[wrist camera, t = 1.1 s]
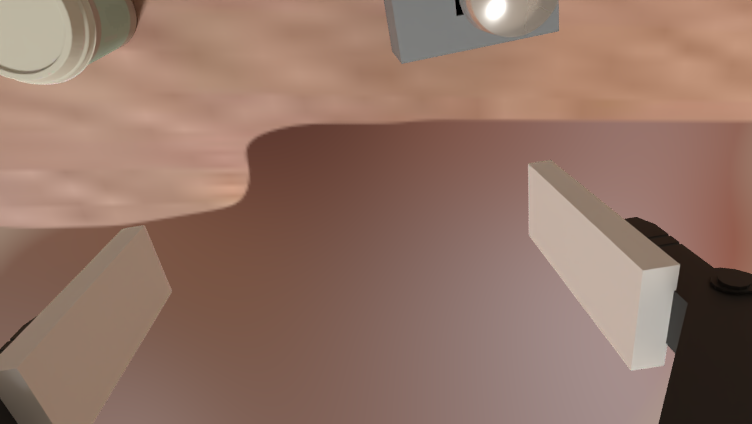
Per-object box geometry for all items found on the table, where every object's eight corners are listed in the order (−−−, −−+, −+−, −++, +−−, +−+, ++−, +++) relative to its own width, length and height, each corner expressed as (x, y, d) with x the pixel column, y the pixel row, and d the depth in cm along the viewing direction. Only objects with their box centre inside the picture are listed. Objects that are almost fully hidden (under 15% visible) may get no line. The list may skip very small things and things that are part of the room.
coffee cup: (142, -43, 38) (60, -58, 27) (161, 65, 41) (95, 90, 31) (34, -46, 37) (-94, -62, 26) (63, 64, 41) (-39, 89, 30)
